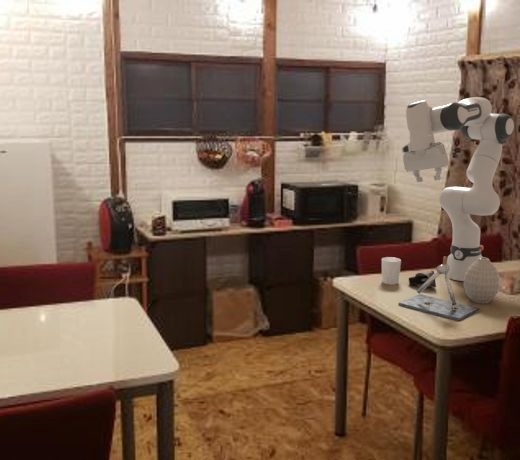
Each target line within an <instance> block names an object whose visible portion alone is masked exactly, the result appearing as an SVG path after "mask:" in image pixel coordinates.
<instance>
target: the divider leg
mask: <svg viewBox="0 0 520 460" xmlns="http://www.w3.org/2000/svg"><path fill="white" fill-rule="evenodd" d="M435 269H436V271H434V274H433V275H432V276H431V277H430V278H429V279H428V280H427V281H426V282H425V283H424V284H423V285H422V286H421V287H420V288H419V287H418V288H417V290H416V293H418V295H419V294H422V293H423V291H424V290H425V289H427V288H428V287H427V286H428V285H429V284H430V283H431V282H432V281H434V280H435V281H436V278H438V277H439V276H440V275H444V274H443V273H445V272H446V271H447V268H446V266H445V265H442V264H440V265H439V264H438V266H436V268H435Z"/></svg>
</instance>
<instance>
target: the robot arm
mask: <svg viewBox="0 0 520 460" xmlns="http://www.w3.org/2000/svg"><path fill="white" fill-rule="evenodd" d="M492 111H493V106H492V103H491V101H489V99H487V98H485V97H478V96H473V97H468V98H464V99H461V100H459V101H457V102H451V103H448V104H445V105H440V106H437V107H433V106H430V105H428V102H427V101H426V100H423V99H422V100H418V101H416V102H412V103H410V104H408V105H407V106H406V110H405V113H406V114H405V117H406V126H407V129H408V132H409V142H408V143H406V145H404V146H402V147H401V153H402V154H403V155H402V159H403V160H402V161H403V167H404V169H405V171H406V172H412V173H413V174H412V175H413V176H414V178H415V179H416V182H417V183H421V182H423V181H424V180H423V176H421V174H420V173H421V172H420V171H423V170H424V171H425V170H429V169H430V170H431V169H434V171H435V175H433V179H434V181H440V180H441V174H442V171H443V170H442V169H443V168H444V167H448V166H449V163H450V161H449V157H448V153H447V151H446V147H445V144H443V143H442V141H437V142H436V141H435V134H441V133H445V132H450V131H458V130H460V132H461V134H462V136H463V137H464V138H465V139H468V140H478V141H479V144H478V146H477V147H476V148H475V150H474V153H473V155H472V157H471V160H470V162H469V164H468V166H467V169H466V177H467V179H468V180H469V181H470V182H471V183H473V185H472V187H466V186H464V187H463V186H458V185H457V186H447V187H445V188H443V189H442V191H441V192H440V195H439V197H438V200H439V205H440V206H441V208H442V209H443V210H444V211H445V212H446V213H447V216H448V217H449V219H450V222H451V225H452V240H451V241H452V242H451V245H450V254H449V255H448V256H447V263H446V264H448V265H449V268H450V269H449V271H448V275H449V279H451V280H454V281H459V282H464V276H465V273H466V271H467V269H468V268H469V266H470V265H471V264H472V263H473V262H475V261H476V260H477V259H478V258H479V257H483V256H482V251H484V245H482V244H480V243H481V242H480V241H481V227H480V226H479V225H478V224H477V223H476V222H475V221H473V220H472V217H471V215H476V216H480V217H481V216H492V215H494V214H496V213H497V212H498V210H499V208H500V206H501V205H500V204H501V199H500V196H499V194H498V193H497V192H496V190H494V186H493V181H494V176H495V174H496V172H497V169H498V167H499V163H500V161H501V157H502V153H503V144H505V143H506V142H507V141H508V139H510V137H512V135H513V134H514V131H515V120H514V118H513V117H512V116H511V115H510V114H506V113H492Z"/></svg>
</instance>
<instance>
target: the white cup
mask: <svg viewBox="0 0 520 460" xmlns="http://www.w3.org/2000/svg"><path fill="white" fill-rule="evenodd" d="M401 265H402V260H401V259H400V258H398V257H393V256H390V257H389V256H386V257H382V258H381V277H382V280H381V281H382V283H383V284H386V285H392V286H393V285H398V284H399V279H400V274H401V273H400V272H401Z"/></svg>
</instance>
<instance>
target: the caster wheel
mask: <svg viewBox="0 0 520 460" xmlns="http://www.w3.org/2000/svg"><path fill="white" fill-rule="evenodd" d="M434 273H435V270H432V269H431V270H430V271H423V272H417V273H416V274H415V276H411V277H408V284H409V285H416V287H417V288H418V289H419V288H420V287H421V286H422V285H423V284H424V283H425V282H426V281H427V280H428V279H429V278H430V277H431V276H432V275H433V274H434ZM431 287H434V288H437V285H436V279H435V280H434V281H432V282H431V283H430V284H429V285H428V286H427V287H426V288H431Z"/></svg>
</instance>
